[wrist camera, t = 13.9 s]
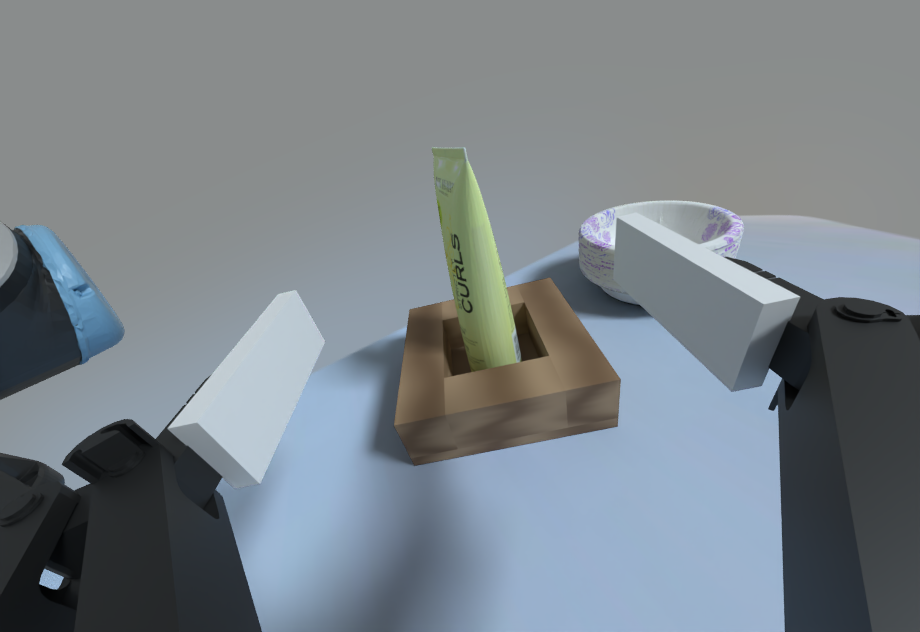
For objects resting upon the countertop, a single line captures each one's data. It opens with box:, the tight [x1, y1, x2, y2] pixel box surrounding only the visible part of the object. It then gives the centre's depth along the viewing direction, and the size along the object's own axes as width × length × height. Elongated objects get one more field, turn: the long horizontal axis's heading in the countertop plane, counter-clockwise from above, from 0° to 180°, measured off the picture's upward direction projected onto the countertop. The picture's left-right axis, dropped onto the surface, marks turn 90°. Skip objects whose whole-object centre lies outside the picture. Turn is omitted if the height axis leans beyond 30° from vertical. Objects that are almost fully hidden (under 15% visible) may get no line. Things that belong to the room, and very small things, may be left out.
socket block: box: [394, 278, 621, 466], centre depth 30 cm, size 16×16×5 cm
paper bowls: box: [579, 201, 744, 305], centre depth 37 cm, size 15×15×8 cm
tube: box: [432, 147, 522, 372], centre depth 26 cm, size 6×5×20 cm
